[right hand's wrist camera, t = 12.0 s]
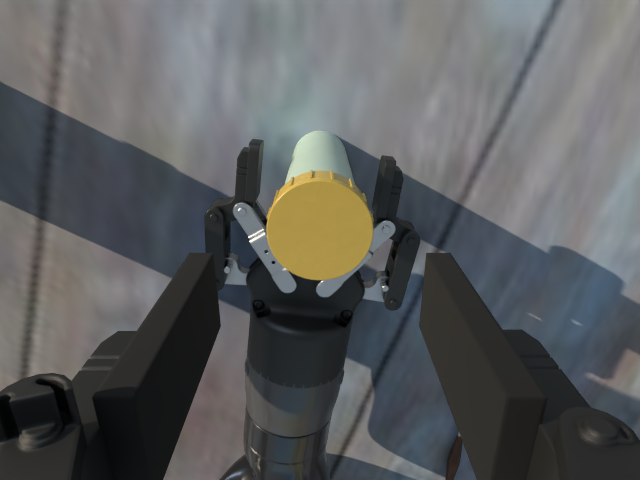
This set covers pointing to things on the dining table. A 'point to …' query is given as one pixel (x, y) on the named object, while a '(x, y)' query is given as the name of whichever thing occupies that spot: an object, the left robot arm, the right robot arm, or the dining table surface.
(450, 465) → the fork
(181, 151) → the dining table surface
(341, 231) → the lid
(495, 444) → the right robot arm
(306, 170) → the jar
